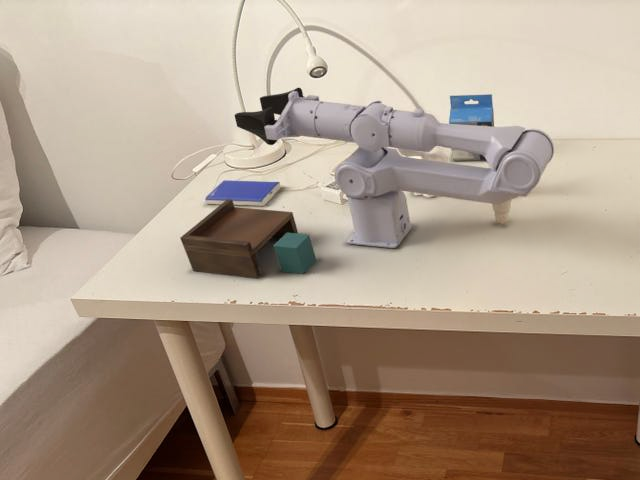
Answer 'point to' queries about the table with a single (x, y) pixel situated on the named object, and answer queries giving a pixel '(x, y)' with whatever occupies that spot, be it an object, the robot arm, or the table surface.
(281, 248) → the block
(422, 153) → the rabbit
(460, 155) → the tape cartridge
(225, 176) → the table surface
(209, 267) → the shelf
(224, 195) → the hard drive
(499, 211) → the lightbulb
